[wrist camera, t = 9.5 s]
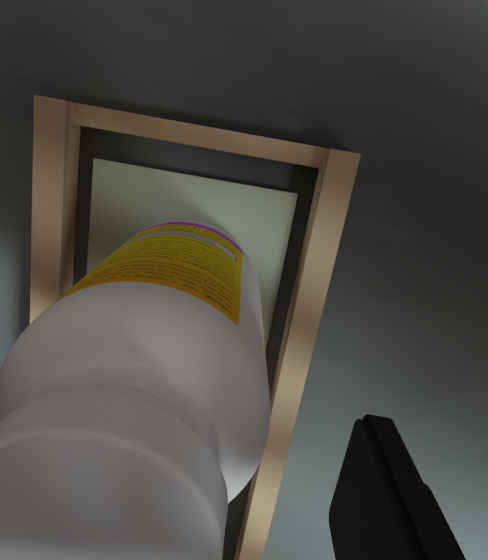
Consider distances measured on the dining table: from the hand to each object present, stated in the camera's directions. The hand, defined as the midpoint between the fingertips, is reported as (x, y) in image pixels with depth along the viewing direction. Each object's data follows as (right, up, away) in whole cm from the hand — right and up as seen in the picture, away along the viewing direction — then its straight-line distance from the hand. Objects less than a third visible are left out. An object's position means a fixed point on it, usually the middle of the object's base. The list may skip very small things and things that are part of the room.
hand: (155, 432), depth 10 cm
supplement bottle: (0, +3, +9) cm, 10 cm away
